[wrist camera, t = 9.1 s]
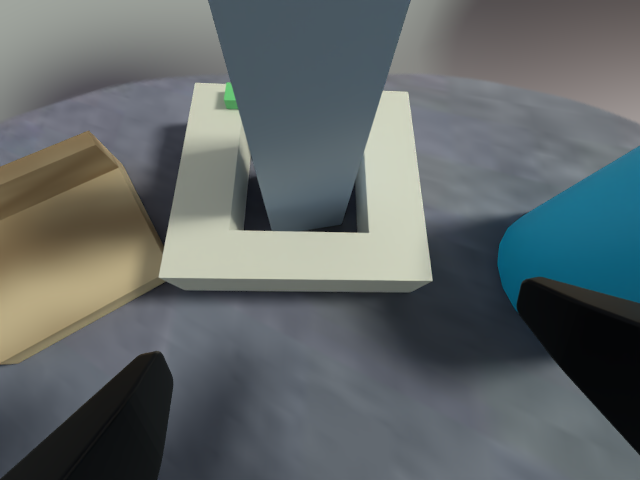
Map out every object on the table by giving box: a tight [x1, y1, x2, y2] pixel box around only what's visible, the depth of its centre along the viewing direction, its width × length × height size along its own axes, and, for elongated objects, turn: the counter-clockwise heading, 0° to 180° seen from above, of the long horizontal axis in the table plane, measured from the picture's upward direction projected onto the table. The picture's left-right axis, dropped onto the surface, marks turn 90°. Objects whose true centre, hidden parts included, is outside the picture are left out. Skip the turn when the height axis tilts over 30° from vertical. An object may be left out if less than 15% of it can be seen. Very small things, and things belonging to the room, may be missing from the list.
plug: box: [208, 0, 411, 232], centre depth 11 cm, size 4×4×14 cm
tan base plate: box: [0, 131, 166, 365], centre depth 15 cm, size 8×8×3 cm
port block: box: [158, 82, 433, 293], centre depth 16 cm, size 11×12×4 cm
